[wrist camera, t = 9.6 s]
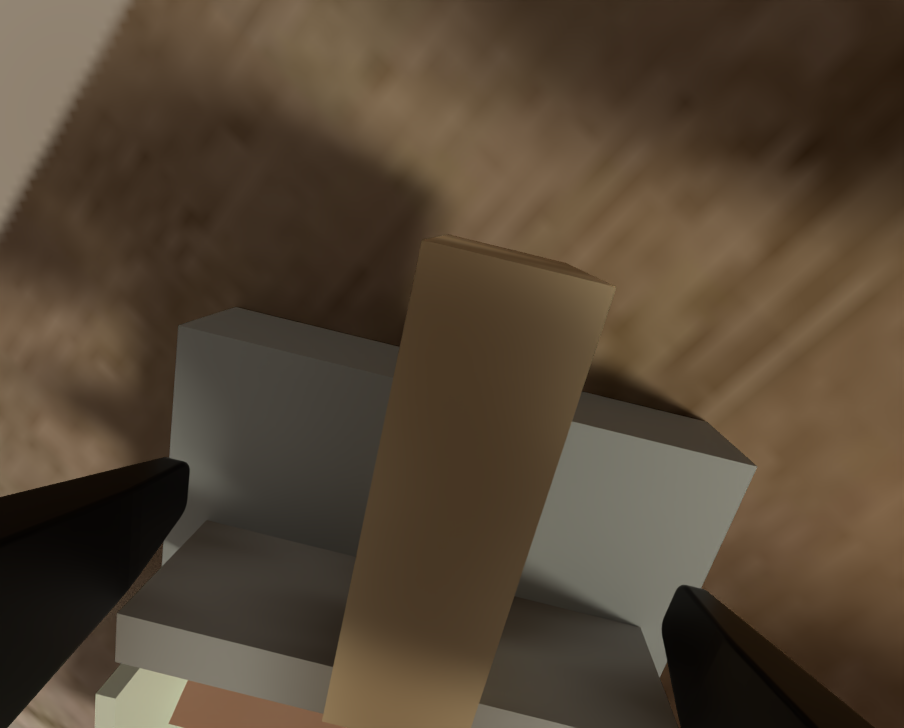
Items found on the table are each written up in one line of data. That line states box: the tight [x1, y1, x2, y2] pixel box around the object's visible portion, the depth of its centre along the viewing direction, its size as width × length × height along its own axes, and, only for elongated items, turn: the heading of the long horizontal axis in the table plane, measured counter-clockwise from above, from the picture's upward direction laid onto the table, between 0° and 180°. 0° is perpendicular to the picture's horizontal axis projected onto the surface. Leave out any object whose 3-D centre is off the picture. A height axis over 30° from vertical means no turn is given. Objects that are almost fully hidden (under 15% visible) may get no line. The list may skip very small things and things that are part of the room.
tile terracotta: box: [168, 680, 346, 728], centre depth 14 cm, size 4×4×2 cm
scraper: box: [115, 234, 678, 728], centre depth 9 cm, size 11×9×4 cm
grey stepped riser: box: [162, 307, 757, 678], centre depth 13 cm, size 13×9×2 cm
